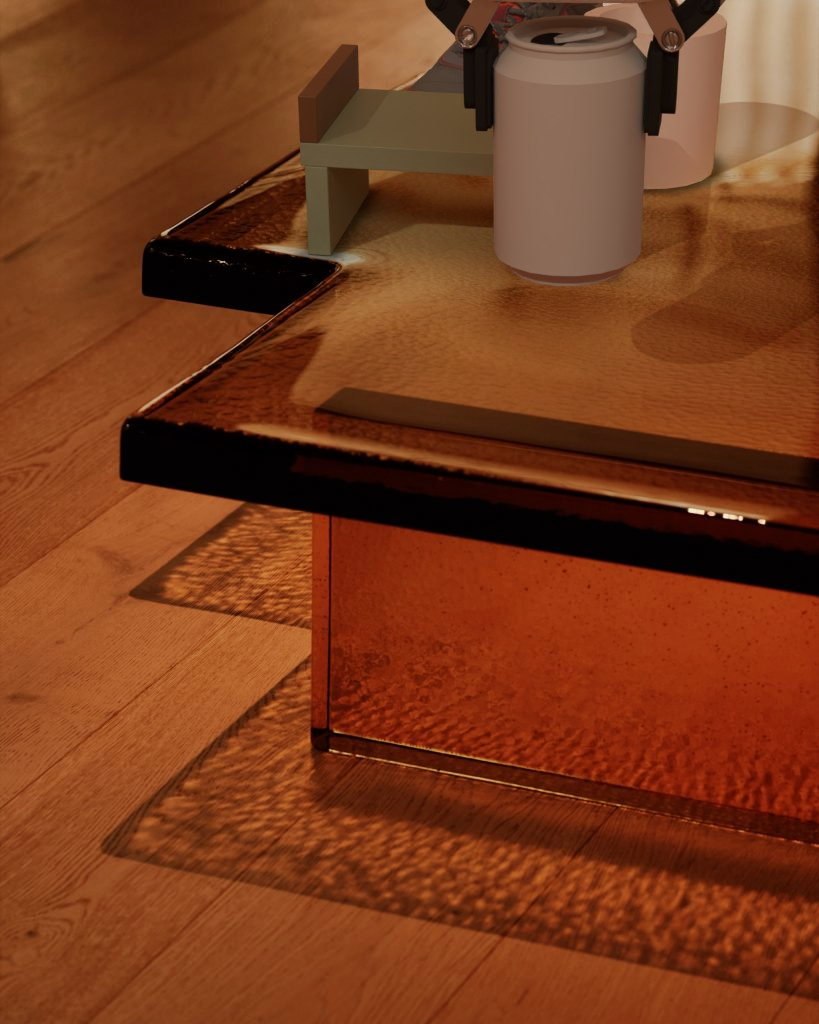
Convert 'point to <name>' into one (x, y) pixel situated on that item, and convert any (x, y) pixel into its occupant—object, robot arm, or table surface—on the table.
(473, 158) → the shelf
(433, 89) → the sneaker
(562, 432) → the table surface
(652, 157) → the mug
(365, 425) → the table surface
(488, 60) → the robot arm
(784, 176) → the table surface
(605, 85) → the can
